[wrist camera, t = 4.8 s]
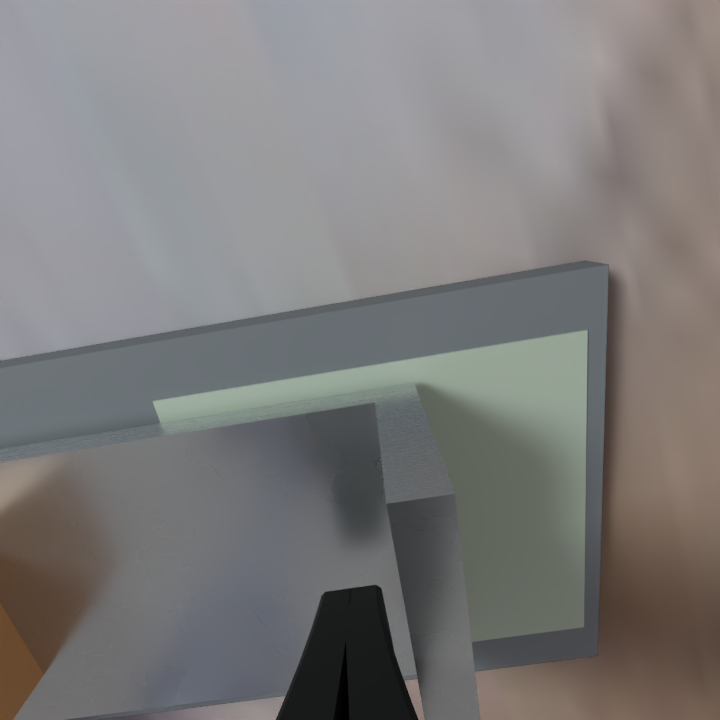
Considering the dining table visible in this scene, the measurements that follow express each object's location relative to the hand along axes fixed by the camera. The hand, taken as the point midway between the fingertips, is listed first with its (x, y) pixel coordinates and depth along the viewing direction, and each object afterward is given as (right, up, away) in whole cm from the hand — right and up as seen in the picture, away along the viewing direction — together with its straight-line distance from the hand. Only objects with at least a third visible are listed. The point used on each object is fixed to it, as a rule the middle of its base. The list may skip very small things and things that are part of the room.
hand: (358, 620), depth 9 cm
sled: (-7, 0, +3) cm, 8 cm away
